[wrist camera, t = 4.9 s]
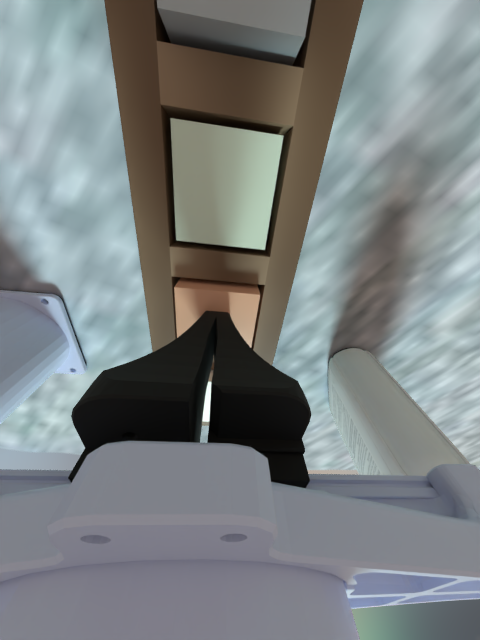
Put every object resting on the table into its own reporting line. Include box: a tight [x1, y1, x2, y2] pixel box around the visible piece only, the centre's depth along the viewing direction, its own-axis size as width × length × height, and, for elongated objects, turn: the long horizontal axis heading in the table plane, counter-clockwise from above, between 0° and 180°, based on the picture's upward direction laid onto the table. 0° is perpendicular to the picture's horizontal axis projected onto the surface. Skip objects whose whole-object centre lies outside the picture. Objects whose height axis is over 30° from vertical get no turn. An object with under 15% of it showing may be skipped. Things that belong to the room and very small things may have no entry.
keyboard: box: [104, 0, 364, 426], centre depth 12 cm, size 8×28×4 cm, turn 174°
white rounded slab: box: [328, 348, 470, 476], centre depth 16 cm, size 10×4×12 cm, turn 14°
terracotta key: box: [174, 277, 260, 347], centre depth 12 cm, size 4×4×2 cm
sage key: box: [170, 118, 283, 250], centre depth 10 cm, size 4×4×2 cm
